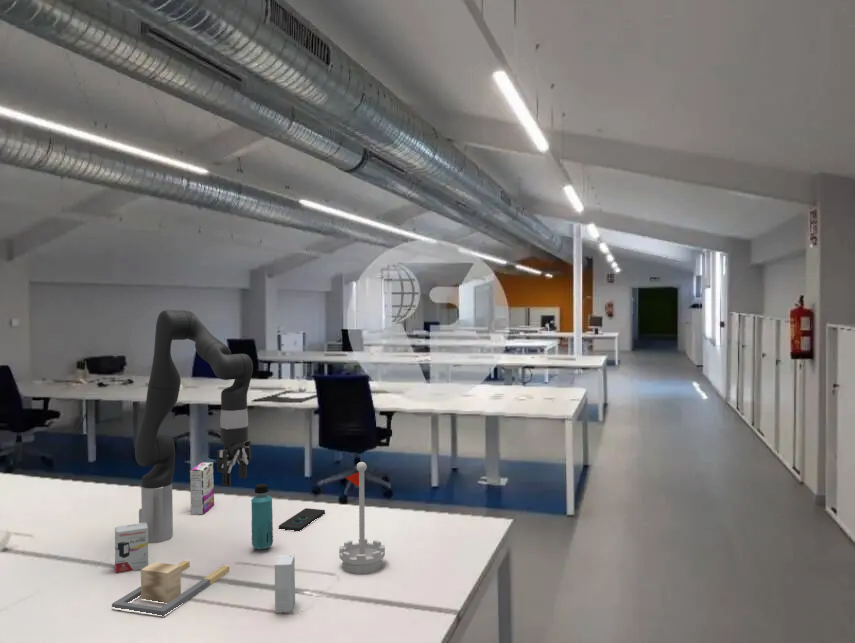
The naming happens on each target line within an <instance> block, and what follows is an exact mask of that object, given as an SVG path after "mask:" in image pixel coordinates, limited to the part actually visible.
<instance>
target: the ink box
mask: <svg viewBox="0 0 855 643" xmlns="http://www.w3.org/2000/svg"><path fill="white" fill-rule="evenodd" d="M148 565H149V542H148V525H147V523H139V522H138V523H132V524H123V525H118V526H116V527H114V571H115V573H116V574H120V573H119V572H121V573H126V572H125V571H127V572H131V571H138V570H141V569H143V568H145V567H146V566H148Z"/></svg>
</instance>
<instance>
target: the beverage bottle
mask: <svg viewBox="0 0 855 643" xmlns="http://www.w3.org/2000/svg"><path fill="white" fill-rule="evenodd" d="M269 491H270V490H269V485H268V484H267V483H258V484H256V485H255V486H254V494H256V495H255V496H254V497H252V498H251V501H250V502H251V545H252V548H255V549H266V548H269V547H271V546H272V545H273V544H274V543H273V542H274V528H273V524H274V521H273V498H272V497H271V495H269V494H267V493H268V492H269Z"/></svg>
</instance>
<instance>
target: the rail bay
mask: <svg viewBox="0 0 855 643" xmlns="http://www.w3.org/2000/svg"><path fill="white" fill-rule="evenodd" d="M190 562H191V561H190V560H189V561H188V560H182V561H181V562H179V563H177V564H176V565H181V573H182V572H183V571H185V570H186V569H188V568H189V567H190ZM228 573H230V566H229V565H222V566H220V567H218V568H217V569H215V570H214V571H212V572H210V573H209V574H208V575H207V576H205V577H204V578H202V579H201V580H200V581H198V582H196V583H195V584H194V585H192V586H191V587H189V588H187V589H186V590H184V591H183V592H181V594H180V595H179V596H177V597H176V598H174V599H173V600H171V601H170V602H168V603H167V604H163V605H162V606H161V607H160V606H153V605H145V604H140V603H133V602H132V603H128V602H130V601H132V600H133V599H135V598H137V597H138V596H140V595H141V585H140V586H139V587H137V588H136V589H134V590H132V591H131V592H129V593H127V594H126V595H124V596H122V597H121V598H119V599H117V600H116V601H114V602H112V603H111V608H112V607H115V608H121V609H129V610H134V611H140V612H146V613H152V614H157V615H162V616H164V615H165V614H167V613H168V612H170V611H171V610H173V609H174V608H176V607H178V606H179V605H181V604H182V603H184V602H185V603H186V601H187V600H188V601H190V600H191V599H193V598H194V597H195V596H197V595H198V594H199V592H200V593H201V592H202V591H204V590H205V589H206V588H208V587H209V586H211V585H212V584H214V583H215V582H216V581H218V580H219V579H221V578H222V577H224V576H225V575H226V574H228ZM196 594H197V595H196ZM193 596H194V597H193ZM190 598H191V599H190ZM189 599H190V600H189ZM188 601H187V602H188ZM185 603H184V604H185ZM182 605H183V604H182ZM182 605H181V606H182ZM178 608H179V607H178Z"/></svg>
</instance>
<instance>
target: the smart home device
mask: <svg viewBox="0 0 855 643" xmlns="http://www.w3.org/2000/svg"><path fill="white" fill-rule="evenodd" d="M323 514H324V515H325V514H326V510H325V509H319V508H308V507H307V508H304V509H302V510H300V511H298V512H297V513H296V514H294V515H292V516H291V517H290V518H288V519H286V520H285V521H283V522H281V523H280V524H279V525H278V530H279V529H285V530H284V531H287V530H294V531H293V532H296V531H299V532H301V531H303V530H304V529H305V528H307V527H308V526H309V525H308V524H310V523H311V522H312V521H314V520H315V519H317V518H318V519H320V518H321V517H322V516H324V515H323ZM319 517H320V518H319ZM318 519H317V520H318ZM315 521H316V520H315ZM315 521H314V522H315ZM312 523H313V522H312ZM312 523H311V524H312ZM311 524H310V525H311ZM307 525H308V526H307ZM306 526H307V527H306ZM304 527H305V528H304ZM303 528H304V529H303ZM302 529H303V530H302ZM300 530H301V531H300Z"/></svg>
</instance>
